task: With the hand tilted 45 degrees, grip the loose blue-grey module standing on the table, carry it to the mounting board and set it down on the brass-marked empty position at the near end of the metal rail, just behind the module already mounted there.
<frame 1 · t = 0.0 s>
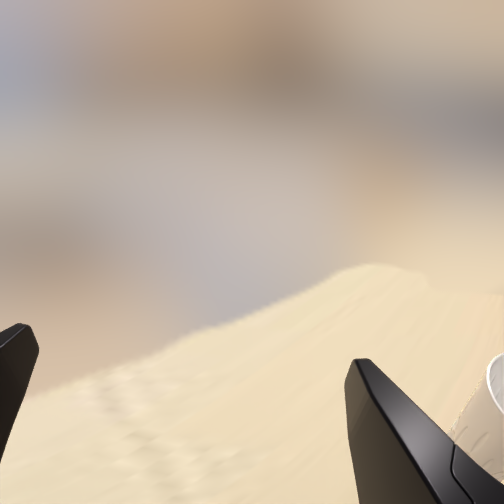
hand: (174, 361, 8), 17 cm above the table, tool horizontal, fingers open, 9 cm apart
white cup: (461, 469, 17), on the table
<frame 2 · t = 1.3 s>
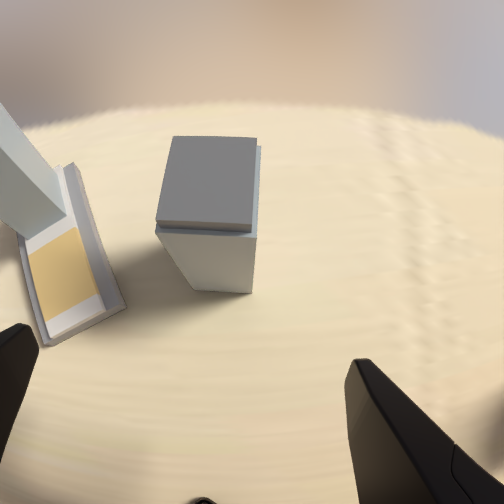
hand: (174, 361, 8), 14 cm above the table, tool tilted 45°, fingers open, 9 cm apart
rail board: (62, 250, 23), on the table
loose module: (224, 261, 23), on the table
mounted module: (42, 206, 22), resting on rail board
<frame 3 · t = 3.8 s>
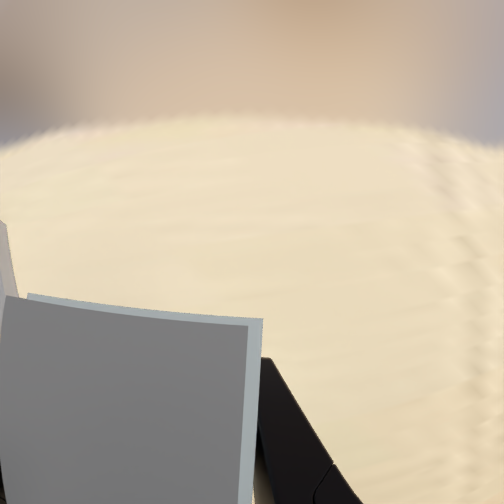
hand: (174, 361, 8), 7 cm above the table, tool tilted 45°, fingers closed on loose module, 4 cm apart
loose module: (203, 391, 13), on the table, touching gripper
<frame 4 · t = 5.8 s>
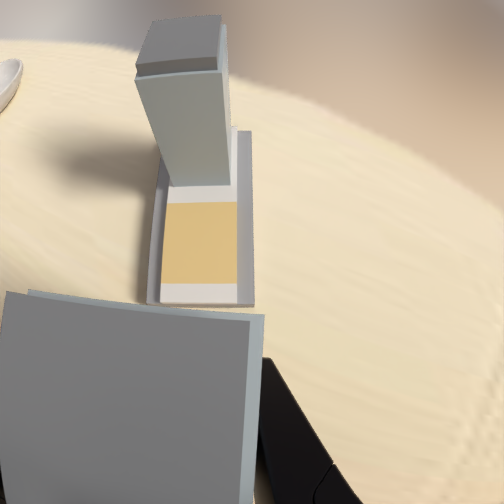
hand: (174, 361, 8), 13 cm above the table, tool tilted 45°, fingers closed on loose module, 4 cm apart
rail board: (204, 215, 24), on the table
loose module: (204, 390, 13), point 7 cm above the table, touching gripper
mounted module: (203, 160, 23), resting on rail board
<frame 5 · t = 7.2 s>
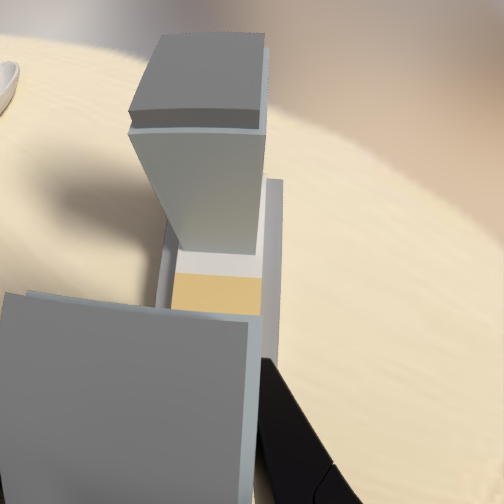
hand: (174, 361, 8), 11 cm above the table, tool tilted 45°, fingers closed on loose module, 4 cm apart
rail board: (220, 284, 20), on the table
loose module: (203, 390, 13), point 4 cm above the table, touching gripper
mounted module: (223, 217, 19), resting on rail board
when the fingers open (10 cm above the table, at t = 8.2 s): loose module stays where it is, resting on rail board.
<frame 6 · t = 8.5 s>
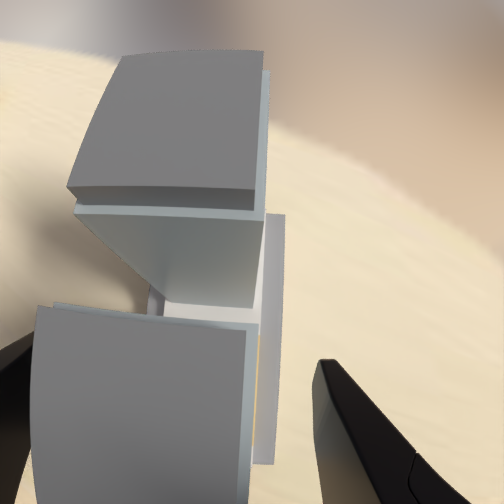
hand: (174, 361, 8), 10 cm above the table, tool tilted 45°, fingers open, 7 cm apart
rail board: (214, 335, 17), on the table
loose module: (205, 388, 14), point 2 cm above the table, touching rail board
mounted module: (215, 263, 16), resting on rail board
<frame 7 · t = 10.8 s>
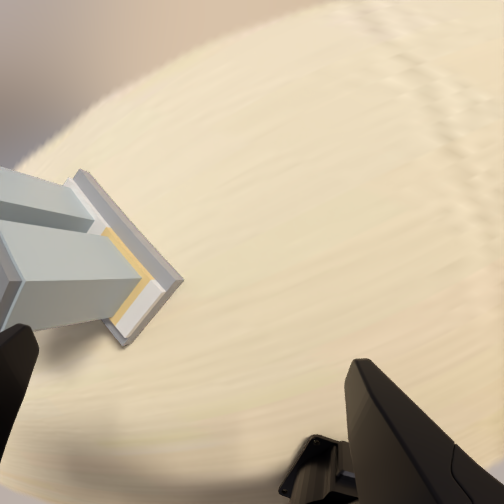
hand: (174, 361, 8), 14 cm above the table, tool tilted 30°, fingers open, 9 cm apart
rail board: (105, 252, 25), on the table
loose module: (109, 276, 22), point 2 cm above the table, touching rail board
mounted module: (69, 222, 23), resting on rail board
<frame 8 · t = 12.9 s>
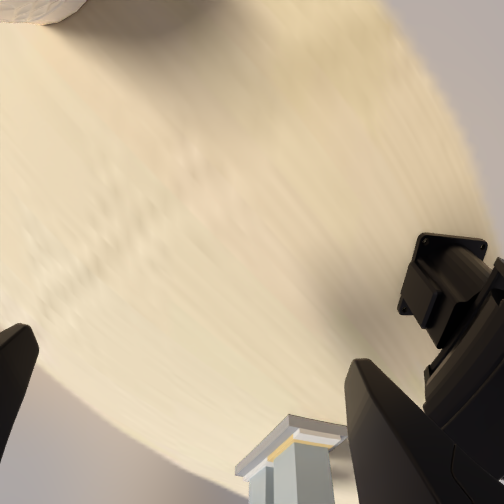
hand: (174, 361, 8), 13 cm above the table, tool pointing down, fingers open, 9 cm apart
rail board: (286, 450, 31), on the table
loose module: (300, 454, 28), point 2 cm above the table, touching rail board
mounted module: (272, 475, 31), resting on rail board
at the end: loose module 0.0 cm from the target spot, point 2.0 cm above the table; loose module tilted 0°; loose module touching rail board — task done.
